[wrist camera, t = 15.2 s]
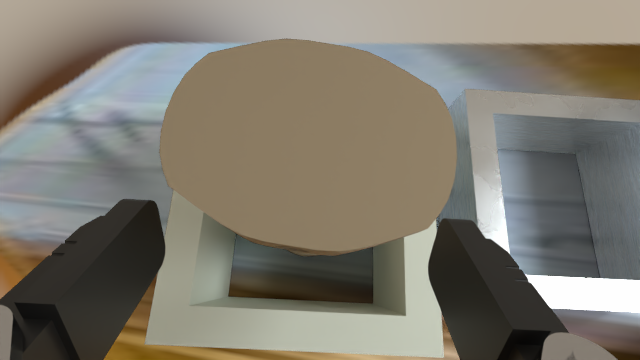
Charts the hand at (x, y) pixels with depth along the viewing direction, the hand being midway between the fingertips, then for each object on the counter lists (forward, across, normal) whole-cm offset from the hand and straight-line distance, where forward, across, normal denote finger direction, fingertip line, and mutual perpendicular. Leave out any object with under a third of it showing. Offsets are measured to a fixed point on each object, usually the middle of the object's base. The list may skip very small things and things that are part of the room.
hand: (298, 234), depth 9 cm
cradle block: (+10, 0, +7) cm, 12 cm away
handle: (+10, 0, +7) cm, 12 cm away
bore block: (+11, -15, +6) cm, 20 cm away
